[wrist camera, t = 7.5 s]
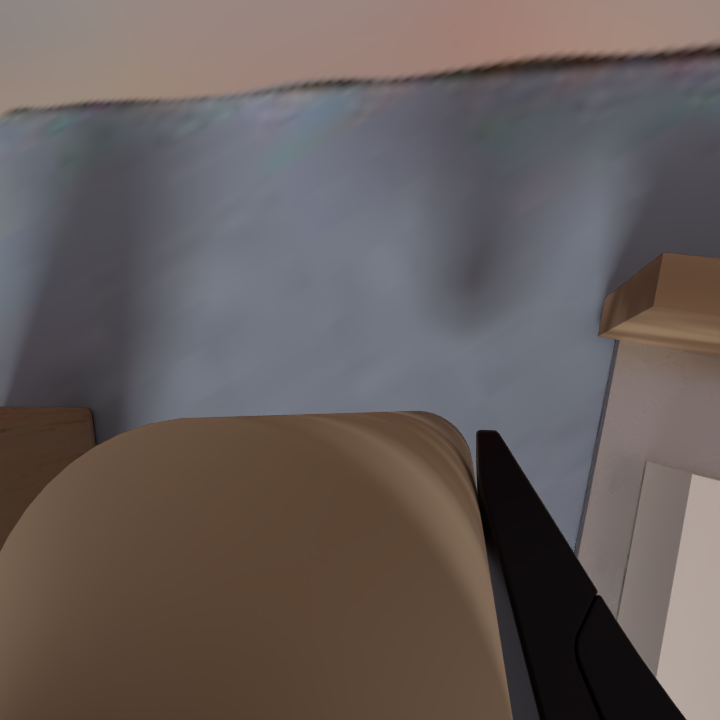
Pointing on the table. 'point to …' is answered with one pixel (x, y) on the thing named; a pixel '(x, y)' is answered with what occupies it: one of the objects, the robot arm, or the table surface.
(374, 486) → the dowel
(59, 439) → the wooden block
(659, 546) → the socket block
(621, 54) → the table surface
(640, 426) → the rail base
